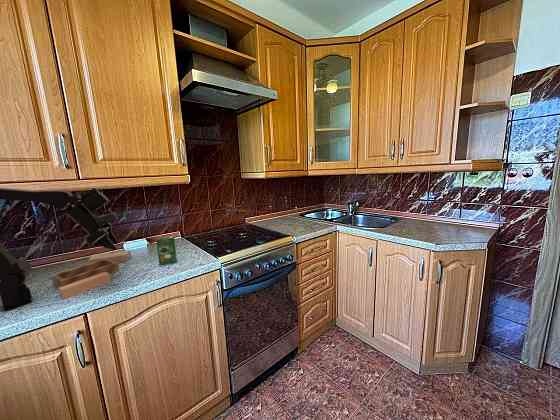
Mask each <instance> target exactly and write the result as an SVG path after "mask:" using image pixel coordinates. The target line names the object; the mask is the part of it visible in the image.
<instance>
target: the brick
mask: <svg viewBox="0 0 560 420" xmlns="http://www.w3.org/2000/svg"><path fill="white" fill-rule="evenodd" d="M131 258H132V253H131V250H130V249H127V250H119V251H115V252H108V253H96V254H93V255H91V256H90V258H89V259H88V260H87V261H88V263H87V264H90V263H94V262H97V261H100V260H104V259H109V260H112V261H115V262H118V264H120V263H125V262H126V263H127V262H129V261H130V259H131Z"/></svg>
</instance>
